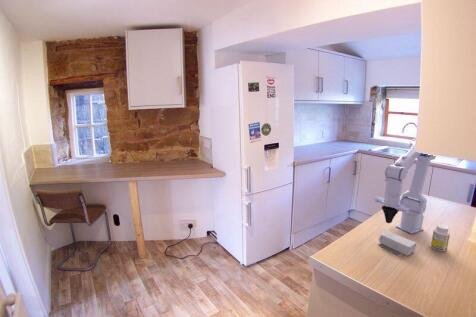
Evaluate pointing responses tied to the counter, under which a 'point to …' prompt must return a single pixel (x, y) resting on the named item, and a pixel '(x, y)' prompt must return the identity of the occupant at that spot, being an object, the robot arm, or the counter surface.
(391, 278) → the counter surface
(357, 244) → the counter surface
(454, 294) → the counter surface
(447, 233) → the supplement bottle
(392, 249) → the mat
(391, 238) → the skincare box
